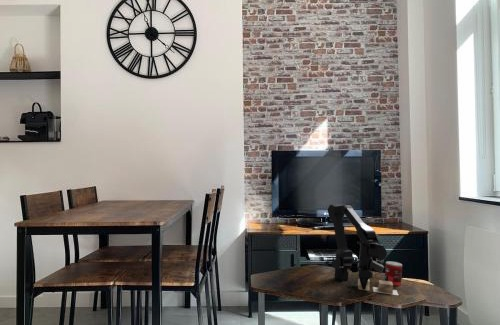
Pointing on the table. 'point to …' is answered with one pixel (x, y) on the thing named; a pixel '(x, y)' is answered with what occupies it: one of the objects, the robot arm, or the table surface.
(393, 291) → the build mat
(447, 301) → the table surface
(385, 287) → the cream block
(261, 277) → the table surface
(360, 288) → the oak cube
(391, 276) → the canned food
